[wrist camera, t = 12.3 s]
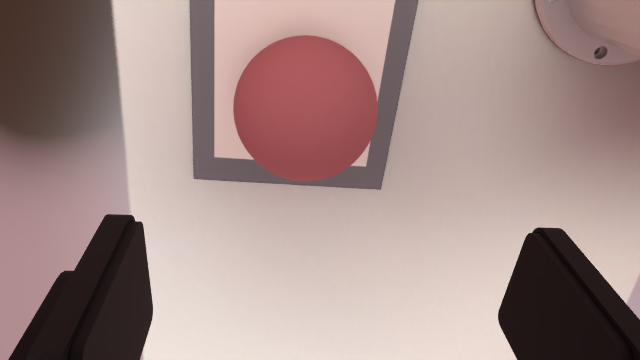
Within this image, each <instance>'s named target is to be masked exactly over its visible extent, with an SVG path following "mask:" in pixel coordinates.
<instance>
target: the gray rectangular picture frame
mask: <svg viewBox="0 0 640 360" xmlns="http://www.w3.org/2000/svg"><path fill="white" fill-rule="evenodd" d="M417 5H418V0H190V36H191V80H192V123H193V166H194V179H204V180H221V181H239V182H256V183H274V184H292V185H309V186H327V187H344V188H362V189H380V190H381V186H382V181H383V176H384V171H385V166H386V161H387V156H388V150H389V145H390V140H391V135H392V130H393V125H394V120H395V115H396V110H397V105H398V100H399V95H400V90H401V85H402V80H403V75H404V70H405V65H406V60H407V55H408V50H409V45H410V40H411V35H412V30H413V25H414V20H415V15H416V10H417ZM302 35H309V36H318V37H323V38H326V39H329V40H332V41H334V42H336V43H338V44H340V45H342V46H343V47H345V48H346V49H348V50H349V51H350V52H352V53H353V54H354V55H355V56H356V57H357V58H358V59H359V60H360V61H361V63H362V64H363V65H364V67H365V68H366V70H367V71H368V73H369V75H370V77H371V79H372V82H373V84H374V88H375V91H376V96H377V105H378V112H377V122H376V126H375V130H374V133H373V135H372V138H371V140H370V142H369V144H368V146H367V147H366V149H365V151H364V152H363V153H362V155H361V156H360V157H359V158H358V159H357V160H356V161H355V162H354V163H353V164H352V165H350V166H349V167H348V168H347V169H345V170H344V171H342V172H340V173H338V174H336V175H334V176H331V177H329V178H325V179H321V180H316V181H296V180H290V179H286V178H283V177H280V176H278V175H276V174H273V173H271V172H269V171H268V170H266V169H265V168H263V167H262V166H261V165H260V164H259V163H257V162H256V161H255V160H254V159H253V157H252V156H251V155H250V154H249V153H248V151H247V150H246V149H245V147H244V145H243V144H242V142H241V140H240V138H239V135H238V133H237V129H236V125H235V122H234V113H233V104H234V95H235V91H236V87H237V83H238V81H239V79H240V76H241V74H242V73H243V71H244V69H245V68H246V66H247V65H248V63H249V62H250V61H251V60H252V58H253V57H255V56H256V55H257V54H258V53H259V52H260V51H261V50H263V49H264V48H266V47H267V46H268V45H270V44H272V43H274V42H276V41H278V40H281V39H284V38H288V37H293V36H302Z"/></svg>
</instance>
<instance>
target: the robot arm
mask: <svg viewBox="0 0 640 360" xmlns="http://www.w3.org/2000/svg"><path fill="white" fill-rule="evenodd" d="M535 5H536V11H537V14H538V16H539V19H540V22H541V24H542V27H543V28H544V30H545V31H546V33H547V34H548V36H549V37H550V39H551V40H552V41H553V42H554V43H555V44H556V45H557V46H559V47H560V48H561V49H562V50H563V51H565V52H567V53H569V54H570V55H572V56H574V57H575V58H578V59H581V60H583V61H586V62H589V63H593V64H600V65H621V64H627V63H631V62H635V61H639V60H640V0H535ZM152 315H153V304H152V295H151V287H150V279H149V270H148V262H147V254H146V245H145V237H144V228H143V224H142V222H136V221H135V219H134V216H132V215H111V214H110V215H109V214H108V215H106V216H105V217H104V219H103V220H102V222H101V224H100V226H99V227H98V229H97V231H96V233H95V235H94V236H93V238H92V240H91V242H90V244H89V245H88V247H87V249H86V251H85V252H84V254H83V256H82V258H81V259H80V261H79V263H78V265H77V266H76V268H75V270H74V271H64V272H62V273H61V274H60V275H59V277H58V278H57V279H56V281H55V282H54V284H53V286H52V287H51V289H50V291H49V293H48V294H47V296H46V298H45V299H44V301H43V303H42V304H41V306H40V308H39V309H38V311H37V313H36V314H35V316H34V318H33V319H32V321H31V323H30V324H29V326H28V328H27V329H26V331H25V333H24V334H23V336H22V338H21V339H20V341H19V343H18V344H17V346H16V348H15V350H14V351H13V353H12V355H11V356H10V358H9V360H140V357H141V354H142V351H143V347H144V344H145V341H146V338H147V335H148V331H149V328H150V325H151V321H152ZM498 320H499V324H500V327H501V329H502V331H503V333H504V334H505V336H506V338H507V340H508V342H509V344H510V346H511V348H512V350H513V352H514V354H515V356H516V358H517V360H640V320H639V318H638V317H637V316H636V315H635V314H634V313H633V311H632V310H631V309H630V308H629V307H628V306H627V304H626V303H625V302H624V301H623V300H622V299H621V297H620V296H619V295H618V294H617V293H616V291H615V290H614V289H613V288H612V287H611V286H610V284H609V283H608V282H607V281H606V280H605V279H604V277H603V276H602V275H601V274H600V273H599V271H598V270H597V269H596V268H595V267H594V266H593V264H592V263H591V262H590V261H589V260H588V259H587V257H586V256H585V255H584V254H583V253H582V251H581V250H580V249H579V248H578V247H577V246H576V244H575V243H574V242H573V241H572V240H571V239H570V237H569V236H568V235H567V234H566V233H565V231H563V230H562V229H559V228H536V229H535V230H534V231H533V232H532V233H529V234H528V235H527V236H526V238H525V240H524V243H523V246H522V249H521V251H520V254H519V257H518V260H517V262H516V265H515V268H514V271H513V273H512V276H511V279H510V282H509V284H508V287H507V290H506V293H505V295H504V298H503V301H502V304H501V306H500V309H499V313H498Z"/></svg>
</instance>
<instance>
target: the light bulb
mask: <svg viewBox="0 0 640 360" xmlns="http://www.w3.org/2000/svg"><path fill="white" fill-rule="evenodd" d="M377 112H378V105H377V96H376V91H375V88H374V84H373V82H372V79H371V77H370V75H369V73H368V71H367V70H366V68H365V67H364V65H363V64H362V63H361V61H360V60H359V59H358V58H357V57H356V56H355V55H354V54H353V53H352V52H350V51H349V50H348V49H346V48H345V47H343V46H342V45H340V44H338V43H336V42H334V41H332V40H329V39H326V38H323V37H318V36H309V35H302V36H293V37H288V38H284V39H281V40H278V41H276V42H274V43H272V44H270V45H268V46H267V47H266V48H264V49H263V50H261V51H260V52H259V53H258V54H257V55H256V56H255V57H253V58H252V60H251V61H250V62H249V63H248V65H247V66H246V68H245V69H244V71H243V73H242V74H241V76H240V79H239V81H238V83H237V87H236V91H235V95H234V104H233V113H234V122H235V125H236V129H237V133H238V135H239V138H240V140H241V142H242V144H243V145H244V147H245V149H246V150H247V151H248V153H249V154H250V155H251V156H252V157H253V159H254V160H255V161H256V162H257V163H259V164H260V165H261V166H262V167H263V168H265V169H266V170H268V171H269V172H271V173H273V174H276V175H278V176H280V177H283V178H286V179H290V180H296V181H316V180H321V179H325V178H329V177H331V176H334V175H336V174H338V173H340V172H342V171H344V170H345V169H347V168H348V167H349V166H350V165H352V164H353V163H354V162H355V161H356V160H357V159H358V158H359V157H360V156H361V155H362V153H363V152H364V151H365V149H366V147H367V146H368V144H369V142H370V140H371V138H372V135H373V133H374V130H375V126H376V122H377Z"/></svg>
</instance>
